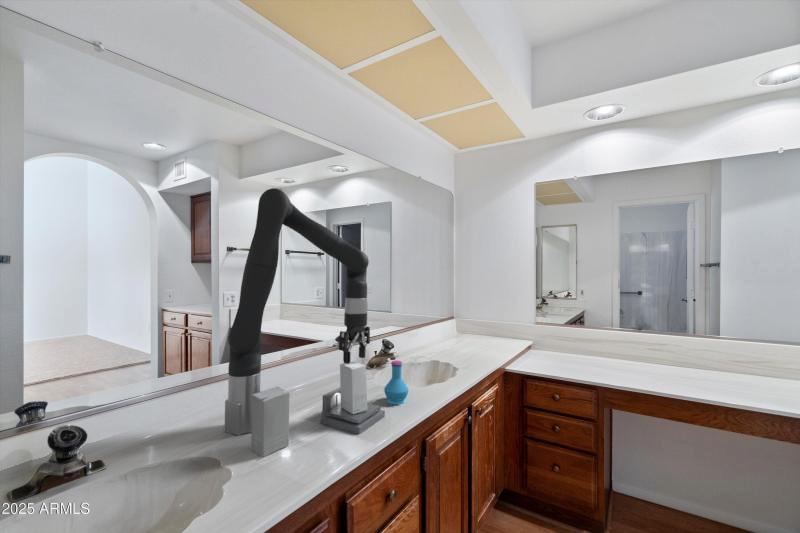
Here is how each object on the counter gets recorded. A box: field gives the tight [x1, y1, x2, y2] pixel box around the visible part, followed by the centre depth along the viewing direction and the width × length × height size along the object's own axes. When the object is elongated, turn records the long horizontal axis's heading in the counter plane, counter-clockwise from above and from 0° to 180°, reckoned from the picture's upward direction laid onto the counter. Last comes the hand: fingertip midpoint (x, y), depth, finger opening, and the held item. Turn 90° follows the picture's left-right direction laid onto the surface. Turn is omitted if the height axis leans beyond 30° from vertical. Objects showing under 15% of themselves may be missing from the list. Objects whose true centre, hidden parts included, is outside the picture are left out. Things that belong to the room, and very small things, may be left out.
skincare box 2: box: [339, 360, 368, 414], centre depth 120 cm, size 8×6×15 cm
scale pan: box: [326, 402, 382, 424], centre depth 120 cm, size 13×13×2 cm
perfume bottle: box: [383, 360, 409, 405], centre depth 138 cm, size 9×9×15 cm
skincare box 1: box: [250, 386, 291, 458], centre depth 100 cm, size 8×7×16 cm
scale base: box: [320, 387, 386, 435], centre depth 120 cm, size 15×17×8 cm
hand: (354, 360), depth 120 cm, fingers open, 8 cm apart
